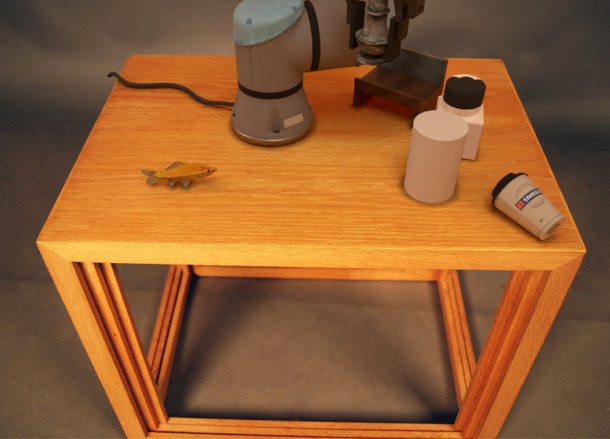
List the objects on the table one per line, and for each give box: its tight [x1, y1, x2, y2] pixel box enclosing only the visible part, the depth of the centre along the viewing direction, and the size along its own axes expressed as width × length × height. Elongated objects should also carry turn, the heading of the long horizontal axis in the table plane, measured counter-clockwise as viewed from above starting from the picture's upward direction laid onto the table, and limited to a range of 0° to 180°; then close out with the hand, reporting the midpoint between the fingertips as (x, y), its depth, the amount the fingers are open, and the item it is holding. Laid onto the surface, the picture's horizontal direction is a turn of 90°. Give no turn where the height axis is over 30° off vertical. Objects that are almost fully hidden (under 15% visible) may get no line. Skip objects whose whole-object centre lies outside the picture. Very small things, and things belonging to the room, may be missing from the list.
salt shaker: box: [355, 0, 391, 67], centre depth 81 cm, size 6×6×12 cm
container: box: [436, 73, 487, 161], centre depth 97 cm, size 8×8×13 cm
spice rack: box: [352, 44, 449, 129], centre depth 107 cm, size 14×10×10 cm
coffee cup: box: [491, 171, 566, 241], centre depth 85 cm, size 7×7×10 cm
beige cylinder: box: [403, 110, 469, 204], centre depth 89 cm, size 8×8×12 cm
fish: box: [140, 160, 218, 189], centre depth 91 cm, size 12×2×5 cm, turn 88°
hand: (373, 51), depth 85 cm, fingers closed on salt shaker, 6 cm apart
